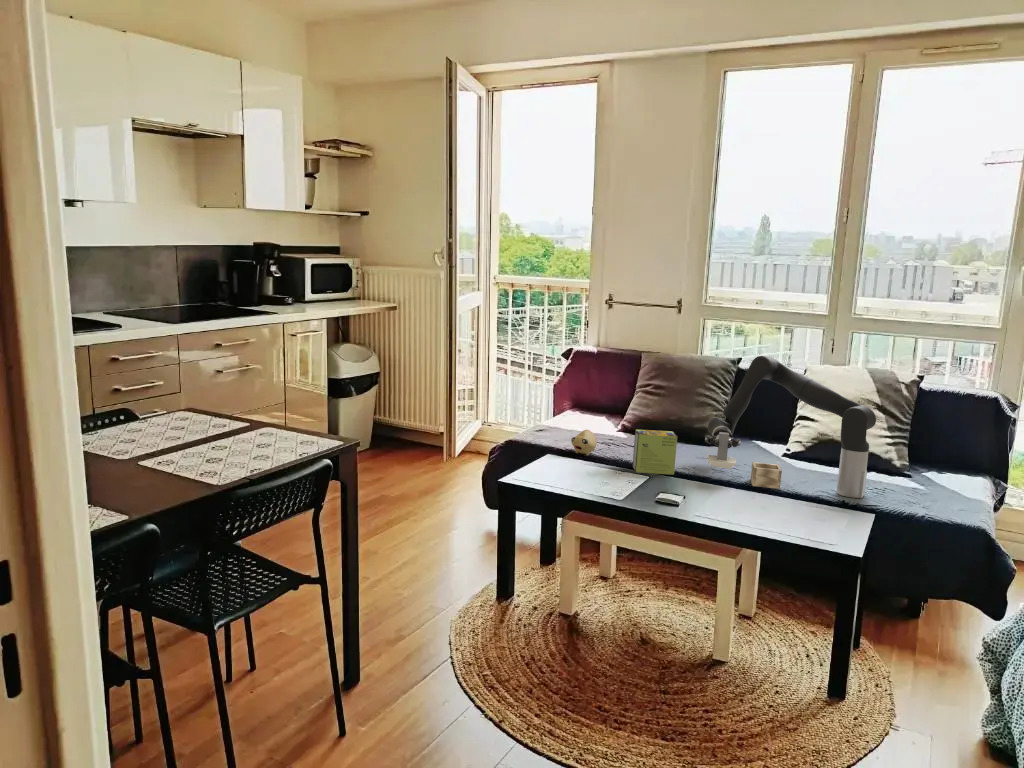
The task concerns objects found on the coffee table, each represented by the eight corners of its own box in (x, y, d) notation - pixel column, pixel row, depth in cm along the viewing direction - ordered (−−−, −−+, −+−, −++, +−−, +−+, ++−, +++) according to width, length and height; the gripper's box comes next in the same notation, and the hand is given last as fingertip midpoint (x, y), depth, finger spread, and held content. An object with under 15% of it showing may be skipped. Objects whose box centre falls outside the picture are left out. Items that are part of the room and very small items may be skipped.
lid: (734, 463, 296) (737, 432, 295) (735, 470, 287) (738, 437, 285) (707, 461, 299) (710, 429, 297) (707, 466, 289) (710, 434, 287)
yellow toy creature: (566, 454, 327) (567, 430, 325) (579, 450, 337) (581, 426, 335) (586, 458, 322) (588, 433, 320) (599, 454, 332) (601, 429, 330)
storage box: (777, 482, 299) (779, 464, 298) (780, 488, 289) (781, 470, 288) (750, 479, 301) (752, 462, 300) (752, 485, 291) (754, 467, 290)
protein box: (674, 475, 302) (678, 436, 300) (635, 472, 302) (638, 434, 300) (669, 468, 312) (672, 431, 310) (631, 466, 312) (634, 428, 310)
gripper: (704, 425, 306) (705, 433, 290) (741, 428, 303) (744, 437, 286) (702, 443, 307) (703, 452, 291) (739, 447, 304) (742, 456, 287)
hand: (723, 445), depth 289 cm, fingers closed on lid, 3 cm apart
